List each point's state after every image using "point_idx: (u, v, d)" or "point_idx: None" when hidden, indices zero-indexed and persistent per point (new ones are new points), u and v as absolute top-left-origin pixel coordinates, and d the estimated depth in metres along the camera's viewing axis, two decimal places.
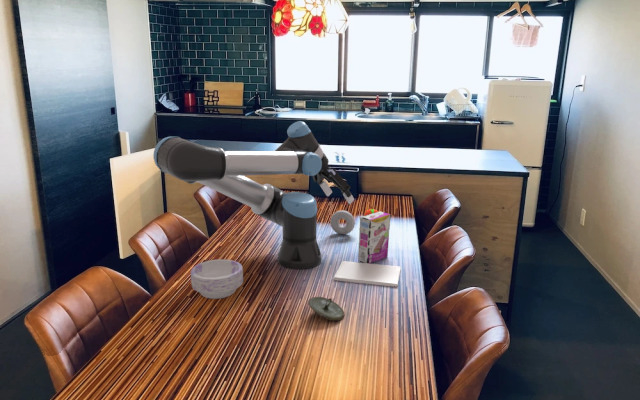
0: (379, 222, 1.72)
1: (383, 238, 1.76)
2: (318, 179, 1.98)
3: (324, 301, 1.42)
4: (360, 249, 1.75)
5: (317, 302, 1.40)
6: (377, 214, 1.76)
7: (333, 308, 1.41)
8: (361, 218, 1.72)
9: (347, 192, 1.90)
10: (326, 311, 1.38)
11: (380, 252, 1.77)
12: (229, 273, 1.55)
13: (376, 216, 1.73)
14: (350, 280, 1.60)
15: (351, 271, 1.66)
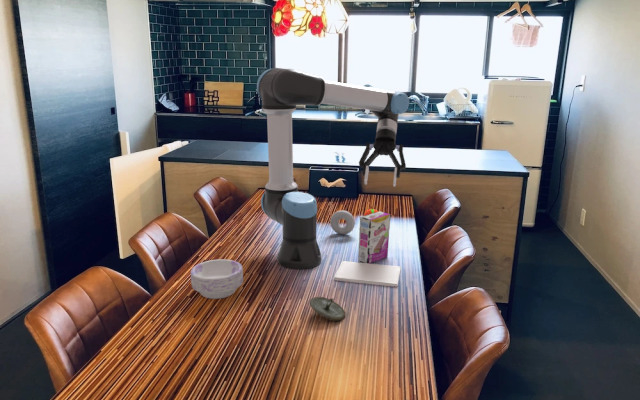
0: (378, 222, 1.72)
1: (383, 238, 1.76)
2: (370, 157, 1.87)
3: (325, 301, 1.42)
4: (360, 249, 1.75)
5: (318, 302, 1.40)
6: (377, 214, 1.76)
7: (334, 308, 1.41)
8: (361, 218, 1.72)
9: None
10: (327, 311, 1.38)
11: (380, 252, 1.77)
12: (229, 273, 1.55)
13: (375, 216, 1.73)
14: (350, 280, 1.60)
15: (351, 271, 1.66)
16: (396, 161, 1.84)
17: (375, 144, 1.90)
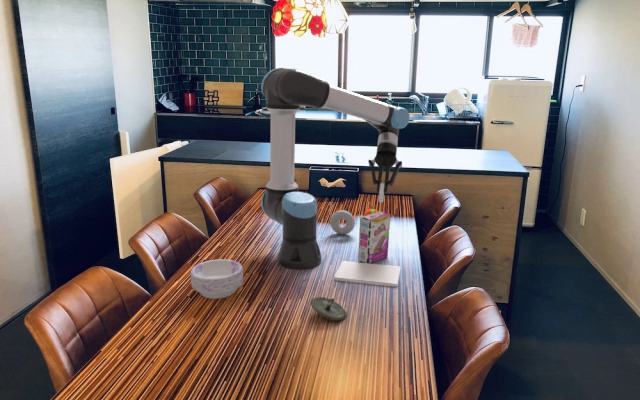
0: (378, 222, 1.72)
1: (383, 238, 1.76)
2: (380, 173, 1.88)
3: (326, 301, 1.42)
4: (360, 249, 1.75)
5: (319, 302, 1.40)
6: (377, 214, 1.76)
7: (335, 308, 1.41)
8: (361, 218, 1.72)
9: (387, 187, 1.86)
10: (328, 311, 1.38)
11: (380, 252, 1.77)
12: (229, 273, 1.55)
13: (375, 216, 1.73)
14: (350, 280, 1.60)
15: (351, 271, 1.66)
16: (386, 177, 1.87)
17: (376, 158, 1.91)
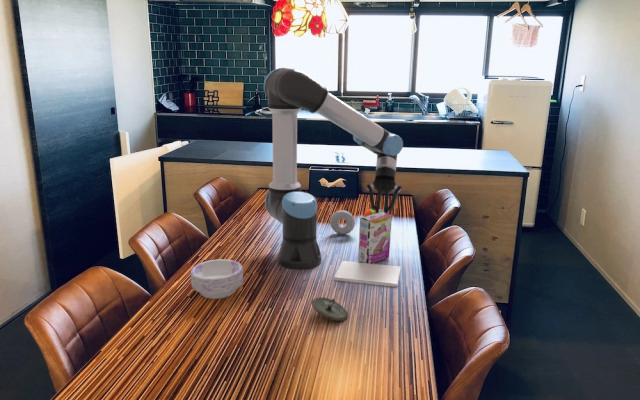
0: (379, 223, 1.71)
1: (384, 239, 1.75)
2: (378, 199, 1.85)
3: (327, 302, 1.42)
4: (360, 249, 1.74)
5: (320, 303, 1.40)
6: (378, 214, 1.74)
7: (336, 309, 1.41)
8: (361, 218, 1.71)
9: None
10: (329, 312, 1.38)
11: (381, 253, 1.76)
12: (229, 273, 1.55)
13: (376, 217, 1.71)
14: (350, 280, 1.60)
15: (351, 271, 1.66)
16: (386, 202, 1.84)
17: (375, 183, 1.89)
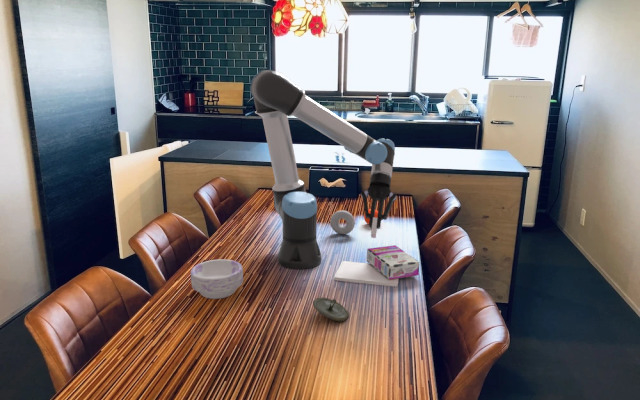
0: None
1: None
2: (372, 207, 1.77)
3: (328, 302, 1.42)
4: (372, 256, 1.69)
5: (321, 303, 1.40)
6: (409, 269, 1.61)
7: (337, 309, 1.40)
8: (388, 267, 1.59)
9: (380, 221, 1.75)
10: (330, 312, 1.38)
11: None
12: (229, 273, 1.55)
13: (400, 275, 1.60)
14: (350, 280, 1.60)
15: (351, 271, 1.66)
16: (380, 210, 1.76)
17: (369, 190, 1.81)
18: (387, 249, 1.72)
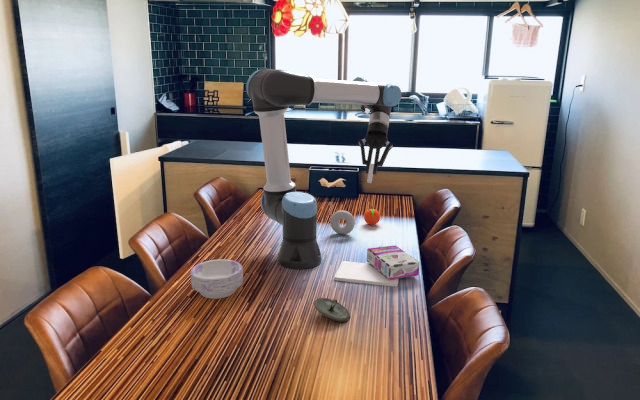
0: None
1: None
2: (369, 153, 1.84)
3: (329, 302, 1.42)
4: (373, 255, 1.69)
5: (322, 303, 1.40)
6: (409, 269, 1.61)
7: (338, 309, 1.40)
8: (389, 267, 1.59)
9: (376, 167, 1.83)
10: (332, 312, 1.37)
11: None
12: (229, 273, 1.55)
13: (400, 275, 1.60)
14: (350, 280, 1.60)
15: (351, 271, 1.66)
16: (376, 157, 1.83)
17: (367, 138, 1.88)
18: (387, 249, 1.72)
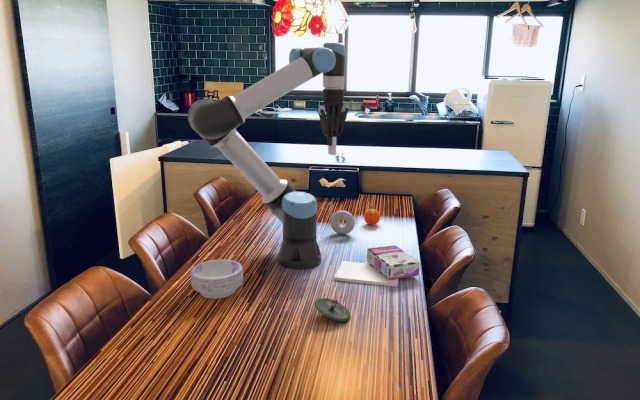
0: None
1: None
2: (331, 125, 1.81)
3: (329, 302, 1.41)
4: (373, 255, 1.69)
5: (323, 304, 1.40)
6: (409, 269, 1.61)
7: (339, 309, 1.40)
8: (389, 267, 1.59)
9: None
10: (332, 312, 1.37)
11: None
12: (229, 273, 1.55)
13: (400, 275, 1.60)
14: (350, 280, 1.60)
15: (351, 271, 1.66)
16: (337, 128, 1.83)
17: (327, 106, 1.78)
18: (387, 249, 1.72)
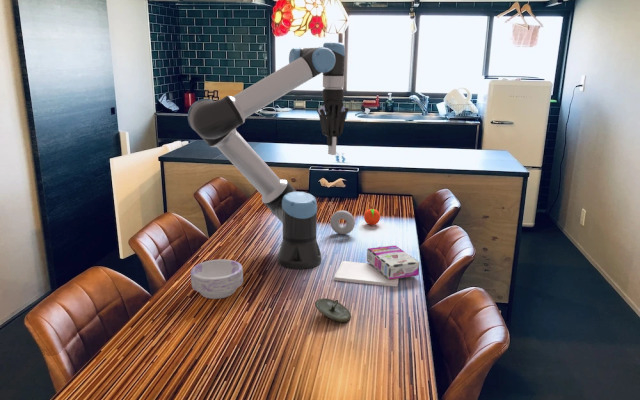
0: None
1: None
2: (331, 125, 1.81)
3: (330, 303, 1.41)
4: (373, 255, 1.69)
5: (323, 304, 1.39)
6: (409, 269, 1.61)
7: (339, 309, 1.40)
8: (389, 267, 1.59)
9: None
10: (333, 313, 1.37)
11: None
12: (229, 273, 1.55)
13: (400, 275, 1.60)
14: (350, 280, 1.60)
15: (351, 271, 1.66)
16: (337, 128, 1.83)
17: (327, 106, 1.78)
18: (387, 249, 1.72)
